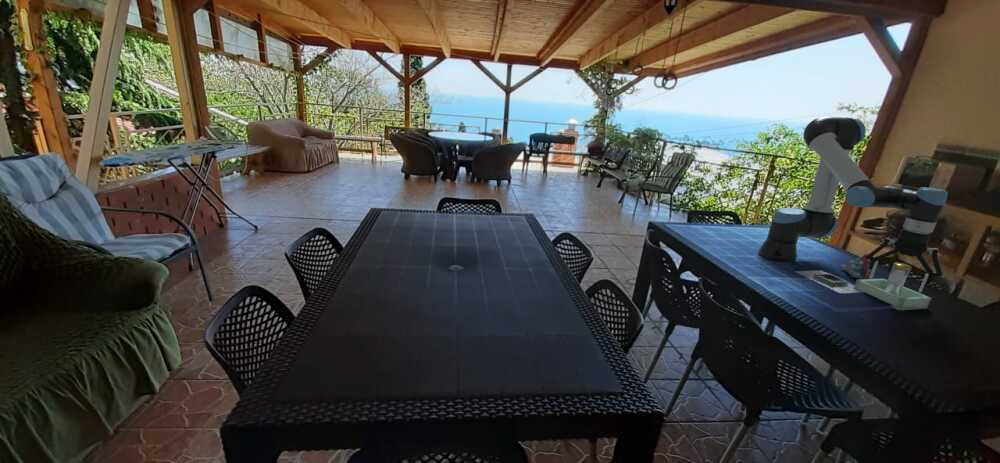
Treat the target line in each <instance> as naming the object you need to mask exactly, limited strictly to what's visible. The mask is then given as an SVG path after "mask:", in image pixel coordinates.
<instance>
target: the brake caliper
mask: <svg viewBox="0 0 1000 463" xmlns="http://www.w3.org/2000/svg"><path fill="white" fill-rule="evenodd" d="M868 254H869V253H865V254H864V255H862V256H861V257H859V258H857V257H855V258H854V260H849V261H847V262H846V264H841V265H840V268H842V269H843V271H844V272H845V273H847V274H848V275H849V276H851V278H854V279H856V280H862V279H870V278H869V276H870V274H871V271H872V270H871V269H869V259H867V258H866V256H867V255H868ZM872 279H875V272H874V275H873V277H872Z"/></svg>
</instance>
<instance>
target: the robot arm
mask: <svg viewBox="0 0 1000 463" xmlns="http://www.w3.org/2000/svg"><path fill="white" fill-rule="evenodd" d="M866 130H867V129H866V126H865V124H864V123H863V121H862V120H861V119H857V118H855V117H853V118H852V117H841V116H840V117H839V116H838V117H837V116H836V117H834V116H822V117H817V118H815V119H813V120H811V121H810V122H809V123H808V124H807V125H806V127H805V128H804V130H803V140H804V143H805V145H806V146H807V147H808V149H809V150H810V151H813V152H814V151H815V153H816V154H817V156H819V158H820V159H819V164H818V166H817V170H816V175H815V178H814V182H813V185H812V188H811V189H812V190H811V192H810V196H809V199H808V203H807V204H806V205H804V206H803V207H802V209H800V208H795V207H793V208H792V207H781V208H778V209H776V210H775V211H774V214H773V216H772V217H771V223H770V226H769V230H768V234H767V237H766V239H765V240H764V242H763V243H762V245H761V246H760V247H759V249H758V252H757V253H758V255H759V256H761V257H763V258H765V259H768V260H772V261H774V262H780V263H789V262H791V263H792V262H793V263H794V262H797V259H798V254H797V250H798V249H797V243H798V240H799V238H815V239H816V238H817V239H819V238H826V237H829V236H831V235H833V234H834V233H835V231H836V230H837V228H838V226H839V220H838V217H837V216H836V215H835V210H834V209H833V203H834V200H835V196H836V194H837V190H838V186H839V183H840V185H841V186H842V187H843V188H844V190H845V192H846V193H845V195H844V197H845V202H846V203H847V204H848V205H850V206H851V207H857V208H884V209H885V208H887V209H889V208H890V209H896V210H897V209H898V210H902V211H905V212H908V214H907V216H906V218H905V220H904V222H903V225H902V227H903V228H902V229H901V230H900V233H899V236H898V238H897V239H896V240H895V239H891V238H890V237H886V238H885V240H884V242H883V243H881V244H880V245H879V246H878V247H876V248H875V249H873V250H872V251H871V252H869V253H867V254H868V255H867V256H866V258H867V259H868V261H870V263H869V264H868V266H869V269H870V272H871V274H870V276H869V278H870V279H872V277H873V275H875V274H874V273H875V272H876V269H877V266H878V264H879V261H880V260H883V259H885V258H887V257H889V256H893V255H894V254H897V253H899V254H900V255H904V256H909V257H916V259H917V260H918V261H919V262H920V265H922V267H923V268H924V270H925V271H926V273H925V275H924V276H923V277H924V278H923V279H922V282H921V285H920V287H919V289H918V291H917V292H918V293H922V292H923V289H924V287H925V285H930V284H931V283H932V281H933V279H934V277H939V278H940V277H942V276H943V271H942V268H941V264H940V261H939V260H940V259H939V257H938V253H939V248H937V247H934V248H932V247H928V244H929V242H930V239H931V237H932V233H933V232H934V230H935V227H936V225H937V223H938V219H939V217H940V216H941V213H942V211H943V209H944V207H945V205H946V202H947V199H948V195H949V193H948V191H947V190H944V189H940V188H934V187H926V186H924V187H923V186H922V187H919V188H918V189H917V190H911V189H907V188H902V187H900V186H893V185H886V186H885V185H884V186H883V187H881V186H879V187H878V186H875V185H874V183H873V182H872V181H871V180H870V179H869V177H868V176H867V175H866V174H865V173H864V172H863V170H862V169H861V168H860V166H858V165H857V163H856V162H855V161H854V159H853V158H852V157H851V156H850V155H849V154H850V153H851V152H853V151H854V148H855V146H857V145H859V144H860V143H861V142H862V141H863V140H864V139H865V136H866V132H867V131H866ZM892 244H893V245H894V247H895V248H893V249H891V250H888V251H886V252H884V253H882V254H879V255H877V256H875V255H876V254H878V253H880V251H882V250H883V249H885V248H886V247H887V246H891V245H892ZM925 252H928V254H929V255H931V258H932V263H933V265H934V269H935V271H934V270H933V269H932V267H931V266H930V264H929V263H928V261H927V260H926V258H925V257H924V254H923V253H925ZM871 270H872V271H871Z"/></svg>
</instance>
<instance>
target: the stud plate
mask: <svg viewBox="0 0 1000 463" xmlns="http://www.w3.org/2000/svg"><path fill="white" fill-rule="evenodd" d="M794 272H795V273H796V274H798V275H801V276H803V277H805V278H807V279H809V280H811V281H813V282H815V283H817V284H819V285H821V286H823V287H826V288H827V289H830V290H832V291H834V292H836V293H838V294H856V293H857V294H858V293H864V292H863V291H861V290H859V289H856V288H854V286H855V284H853V283H852V282H850V281H848V280H846V279H843V278H841V277H838V275H835V274H833V273H828V272H826V271H824V270H798V271H797V270H795V271H794Z"/></svg>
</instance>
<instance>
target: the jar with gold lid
mask: <svg viewBox="0 0 1000 463" xmlns="http://www.w3.org/2000/svg"><path fill="white" fill-rule="evenodd" d="M912 267H913V266H911V265H909V264H906V263H902V262H894V263H893V264H892V269H891V271H890V272H889V276H888V278H887V280H888V281H887V283H886V285H885V288H884V290H885V291H887V292H890V293H892V294H894V295H897V296H899V294H900V292H901V290H902V287H904V284H905V282H906V280H907V278H908V276H909V273H910V271H911V270H912V269H913V268H912Z"/></svg>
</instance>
